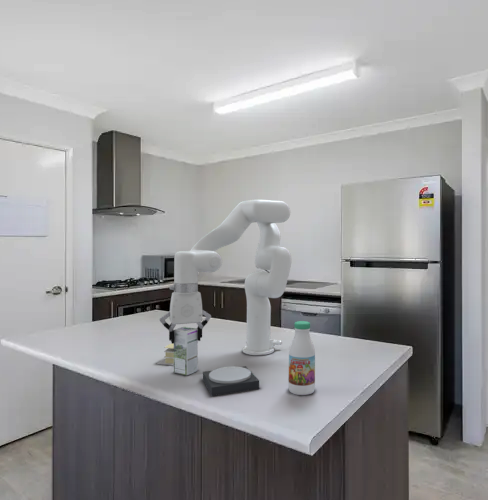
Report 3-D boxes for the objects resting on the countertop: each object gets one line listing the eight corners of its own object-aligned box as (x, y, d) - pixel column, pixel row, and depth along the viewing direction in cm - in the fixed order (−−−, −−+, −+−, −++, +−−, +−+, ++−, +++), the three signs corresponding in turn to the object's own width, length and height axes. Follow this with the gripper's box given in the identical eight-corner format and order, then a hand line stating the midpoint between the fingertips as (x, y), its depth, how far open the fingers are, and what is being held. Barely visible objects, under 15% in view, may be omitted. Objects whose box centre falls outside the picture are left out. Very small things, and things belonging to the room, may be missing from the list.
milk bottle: (287, 385, 111) (288, 319, 110) (313, 385, 111) (313, 319, 111) (289, 396, 103) (290, 325, 103) (316, 395, 104) (317, 324, 103)
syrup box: (198, 370, 123) (198, 327, 123) (186, 376, 118) (186, 331, 118) (185, 368, 126) (185, 325, 126) (172, 373, 120) (173, 329, 120)
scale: (246, 373, 121) (247, 363, 121) (260, 388, 108) (260, 377, 108) (202, 379, 115) (202, 369, 115) (211, 396, 102) (211, 384, 102)
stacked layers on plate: (179, 365, 128) (179, 350, 128) (155, 364, 130) (156, 348, 130) (192, 357, 138) (192, 342, 138) (170, 355, 140) (171, 341, 139)
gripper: (158, 290, 114) (158, 346, 115) (214, 288, 122) (214, 341, 122) (157, 288, 121) (157, 341, 122) (210, 286, 128) (210, 336, 129)
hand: (185, 341), depth 122 cm, fingers closed on syrup box, 7 cm apart
